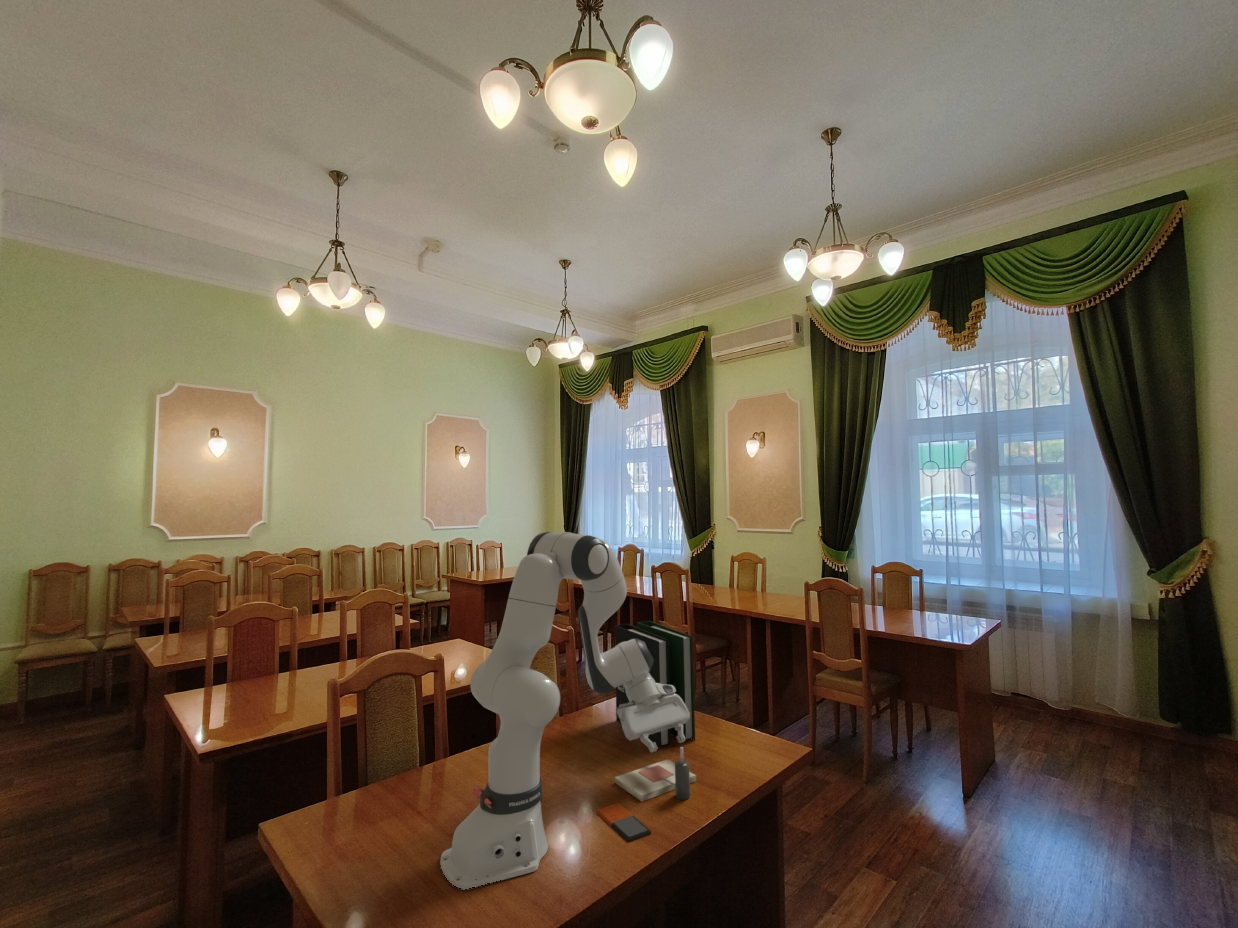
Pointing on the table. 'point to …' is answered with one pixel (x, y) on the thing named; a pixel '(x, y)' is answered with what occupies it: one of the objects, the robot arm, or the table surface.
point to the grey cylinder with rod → (682, 778)
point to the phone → (623, 822)
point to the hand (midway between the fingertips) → (668, 745)
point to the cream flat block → (650, 780)
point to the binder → (664, 669)
